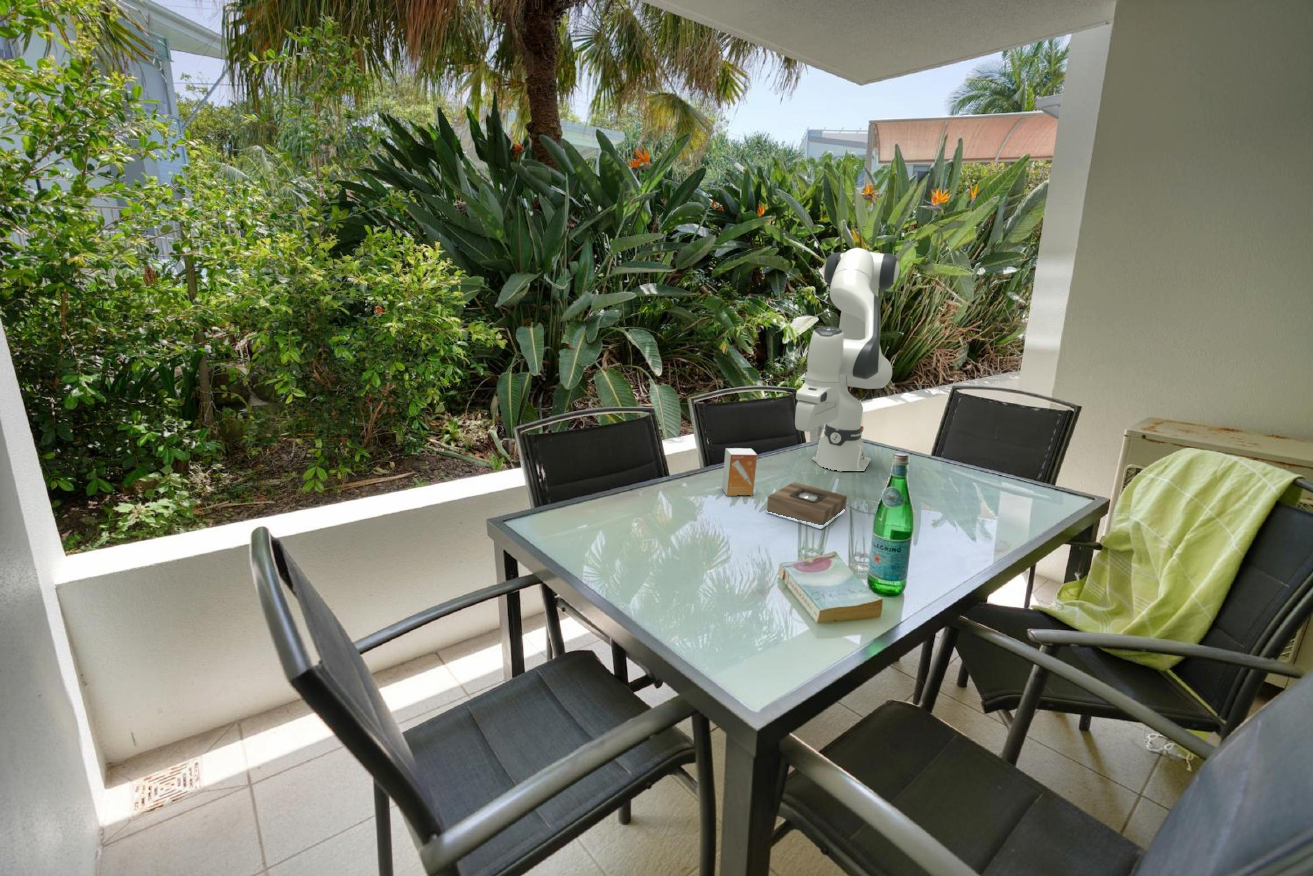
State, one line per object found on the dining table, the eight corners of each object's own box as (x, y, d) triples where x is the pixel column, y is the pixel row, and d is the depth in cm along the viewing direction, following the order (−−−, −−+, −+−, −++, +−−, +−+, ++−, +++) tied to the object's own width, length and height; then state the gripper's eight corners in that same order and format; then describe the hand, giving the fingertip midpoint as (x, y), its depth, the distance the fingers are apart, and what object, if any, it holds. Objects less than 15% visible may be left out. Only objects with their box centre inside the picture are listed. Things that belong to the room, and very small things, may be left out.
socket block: (792, 497, 181) (794, 481, 180) (844, 512, 172) (847, 495, 171) (766, 513, 169) (768, 495, 167) (821, 530, 160) (824, 511, 158)
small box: (726, 496, 180) (730, 454, 176) (721, 488, 186) (725, 447, 182) (753, 496, 181) (757, 454, 177) (747, 488, 187) (751, 447, 183)
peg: (801, 506, 174) (803, 491, 172) (818, 511, 171) (820, 495, 170) (794, 511, 170) (795, 495, 169) (810, 516, 167) (812, 500, 166)
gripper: (825, 383, 171) (819, 431, 175) (793, 393, 155) (787, 446, 159) (847, 386, 167) (841, 435, 171) (816, 398, 151) (810, 451, 155)
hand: (815, 440), depth 165 cm, fingers closed
